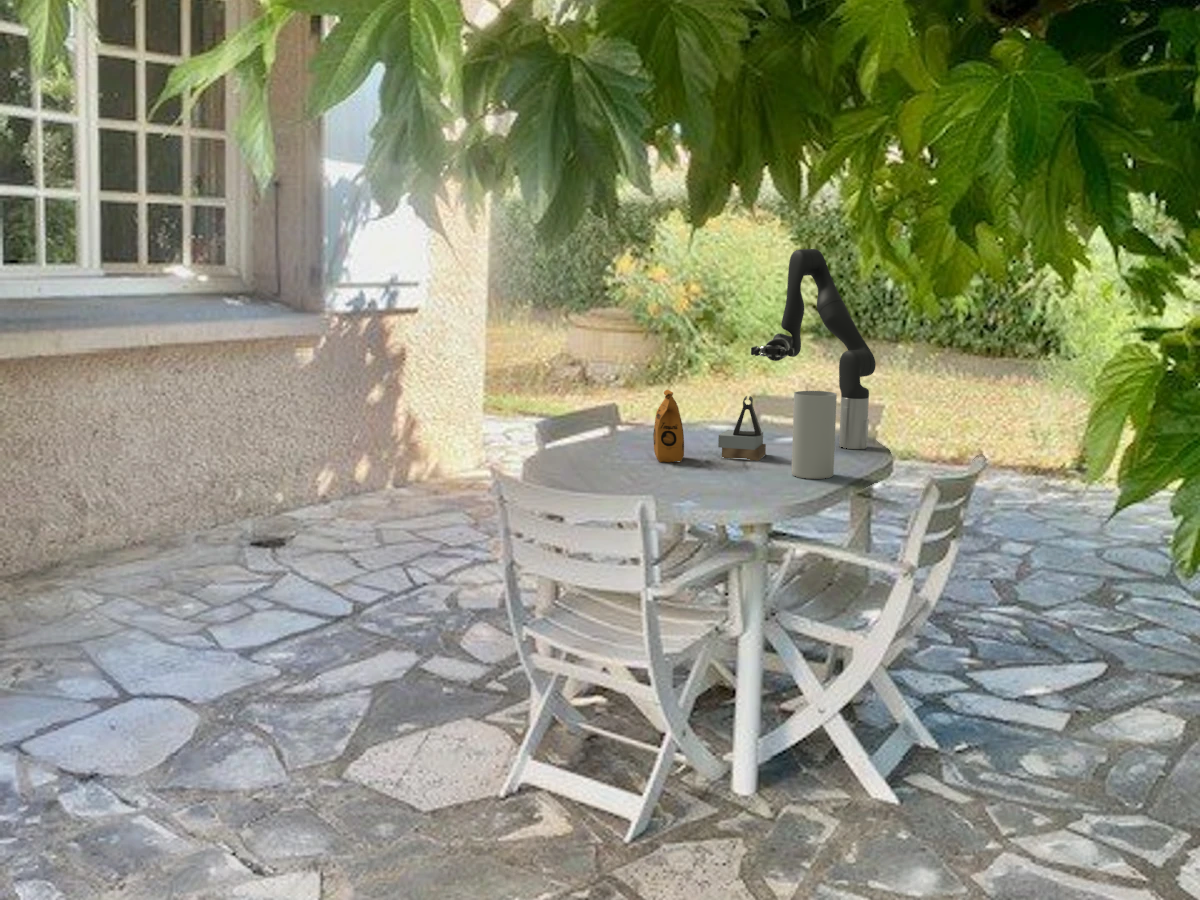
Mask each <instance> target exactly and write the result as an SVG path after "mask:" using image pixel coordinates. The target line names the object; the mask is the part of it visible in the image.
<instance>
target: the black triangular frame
mask: <svg viewBox="0 0 1200 900" xmlns="http://www.w3.org/2000/svg"><path fill="white" fill-rule="evenodd" d="M747 399H748V400H749V401H750V403H749V404H747V403H746V402H745V401H746V400H747ZM753 403H754V400H753V397H752V396H750V395H749V396H748V395H746V396H744V398H743V400H742V410H741V412H740V413H739V417H738V419H737V422H736V424H735V427H734V429H733V430H734V432H733V435H742V436H746V435H748V436H761V432H763V431H762V429H761V426H760V424H759V420H758V417H757V414H756V411H755V409H754V405H753ZM747 410H748V411H749V414H750V418H751V422H752V426H753V430H754V431H753V430H741V428H742V427H741V426H742V424H743V420H744V416H745V412H746V411H747Z"/></svg>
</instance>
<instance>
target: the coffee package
mask: <svg viewBox="0 0 1200 900" xmlns="http://www.w3.org/2000/svg"><path fill="white" fill-rule="evenodd" d="M663 394H664V396H665V398H664V399H663V401H662V402H661V403H660V405H659V406H658V409H657V410H656V414H655V419H654V427H653V434H652V435H653V452H654V455H655V458H656V459H657V460H658V461H659V463H675V462H674V461H681V460H683V458H684V456H685V437H684V428H683V427H684V426H683V422H682V417H681V415H680V413H681V412H680V410H679V406H678V403H677V401H676V400H675V398H674V397H673V395H674V392H673V391H671V390H669V389H666V390H664V392H663ZM681 462H682V461H681Z"/></svg>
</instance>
